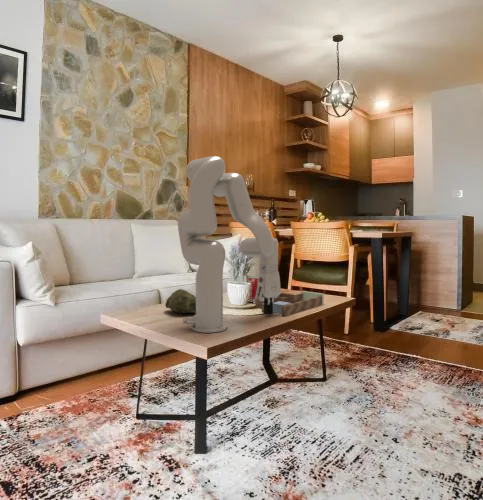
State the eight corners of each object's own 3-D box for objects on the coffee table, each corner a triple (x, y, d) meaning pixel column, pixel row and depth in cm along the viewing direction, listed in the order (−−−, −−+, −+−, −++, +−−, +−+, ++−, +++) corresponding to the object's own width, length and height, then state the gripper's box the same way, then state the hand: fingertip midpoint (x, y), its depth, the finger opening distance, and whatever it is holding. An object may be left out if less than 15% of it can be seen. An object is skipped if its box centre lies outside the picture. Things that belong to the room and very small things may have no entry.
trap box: (284, 316, 158) (284, 306, 158) (246, 309, 171) (246, 300, 171) (322, 304, 181) (322, 296, 181) (286, 299, 194) (286, 291, 193)
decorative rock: (196, 311, 175) (198, 288, 176) (206, 316, 160) (207, 291, 161) (163, 310, 170) (164, 287, 171) (169, 315, 155) (171, 290, 156)
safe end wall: (322, 304, 181) (322, 294, 181) (300, 301, 188) (301, 291, 188) (323, 304, 182) (323, 293, 181) (302, 301, 189) (302, 290, 189)
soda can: (261, 304, 183) (261, 278, 182) (246, 303, 185) (246, 277, 184) (263, 301, 190) (263, 276, 189) (249, 300, 191) (249, 275, 191)
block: (283, 314, 162) (283, 305, 162) (271, 312, 166) (271, 303, 166) (291, 312, 167) (291, 302, 167) (279, 310, 171) (279, 301, 171)
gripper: (264, 271, 150) (264, 318, 152) (286, 267, 162) (286, 312, 163) (249, 269, 155) (249, 315, 157) (272, 266, 167) (271, 309, 168)
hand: (268, 313), depth 160 cm, fingers closed
